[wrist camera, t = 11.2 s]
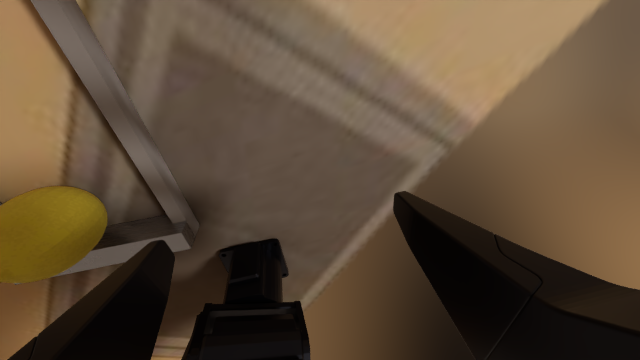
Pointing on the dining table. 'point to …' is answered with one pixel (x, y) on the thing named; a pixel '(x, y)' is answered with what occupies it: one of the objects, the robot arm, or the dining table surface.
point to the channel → (113, 101)
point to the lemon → (48, 232)
